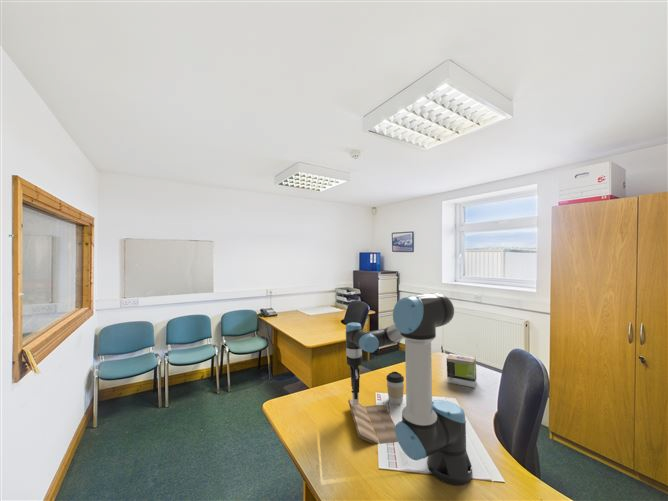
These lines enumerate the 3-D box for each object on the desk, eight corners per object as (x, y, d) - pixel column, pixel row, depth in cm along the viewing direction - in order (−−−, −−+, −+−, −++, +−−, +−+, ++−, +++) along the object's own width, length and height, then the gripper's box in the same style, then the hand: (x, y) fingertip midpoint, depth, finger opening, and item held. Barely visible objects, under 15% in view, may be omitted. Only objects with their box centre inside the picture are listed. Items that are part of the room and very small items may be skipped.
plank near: (377, 446, 117) (379, 443, 117) (358, 436, 116) (360, 433, 116) (369, 425, 130) (371, 423, 130) (352, 417, 129) (354, 414, 130)
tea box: (476, 381, 170) (476, 356, 170) (474, 388, 162) (474, 362, 162) (450, 376, 178) (449, 352, 178) (446, 382, 170) (446, 357, 170)
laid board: (403, 444, 118) (403, 441, 118) (379, 446, 117) (379, 443, 117) (384, 407, 146) (384, 404, 146) (365, 408, 145) (365, 406, 145)
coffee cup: (405, 408, 144) (404, 378, 144) (386, 406, 146) (386, 377, 146) (404, 398, 153) (403, 371, 153) (387, 397, 155) (386, 370, 155)
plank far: (369, 425, 131) (371, 422, 131) (352, 416, 130) (354, 414, 130) (363, 408, 144) (364, 406, 144) (348, 401, 143) (349, 398, 143)
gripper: (364, 360, 131) (366, 411, 131) (359, 350, 144) (360, 396, 144) (348, 361, 130) (350, 412, 130) (344, 351, 143) (345, 398, 143)
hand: (355, 404), depth 137 cm, fingers closed
